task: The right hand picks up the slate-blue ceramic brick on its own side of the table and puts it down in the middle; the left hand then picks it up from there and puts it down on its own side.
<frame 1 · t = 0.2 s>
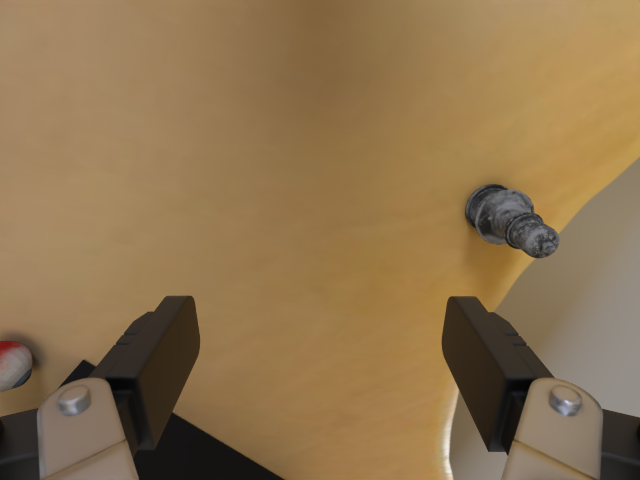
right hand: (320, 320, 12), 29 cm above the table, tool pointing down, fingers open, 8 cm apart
cardboard box: (162, 464, 56), on the table
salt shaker: (488, 207, 41), on the table
eyeball: (22, 349, 48), on the table
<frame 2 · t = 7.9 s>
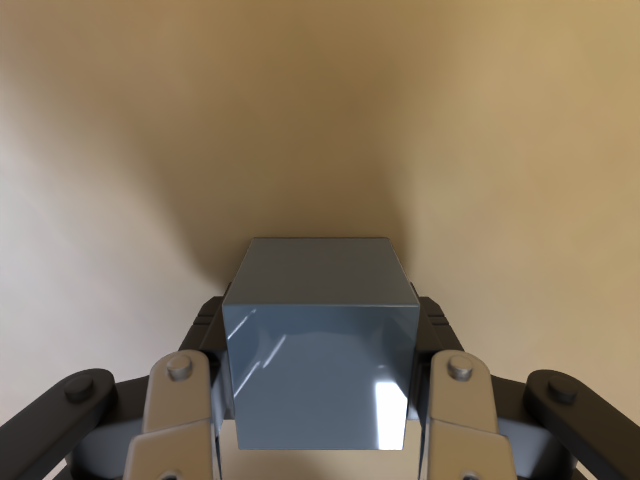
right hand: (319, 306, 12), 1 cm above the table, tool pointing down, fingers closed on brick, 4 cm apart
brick: (320, 298, 13), on the table, touching right hand
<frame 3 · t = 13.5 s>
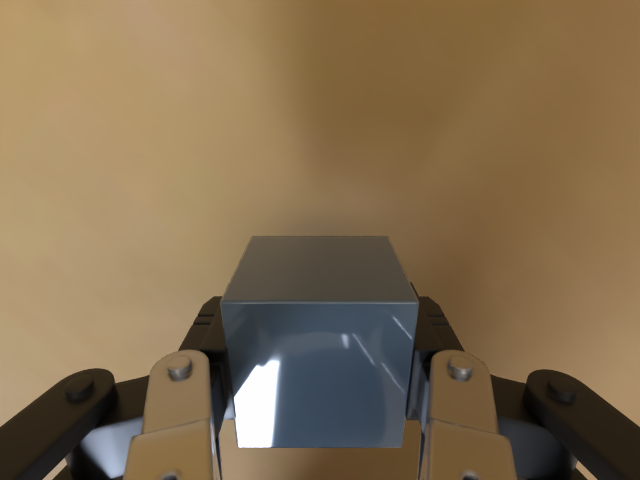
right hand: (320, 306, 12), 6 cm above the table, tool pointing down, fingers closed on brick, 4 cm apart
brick: (319, 296, 13), point 5 cm above the table, touching right hand
when the right hand's fingers open (1 cm above the table, at t = 19.5 s): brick stays where it is, on the table.
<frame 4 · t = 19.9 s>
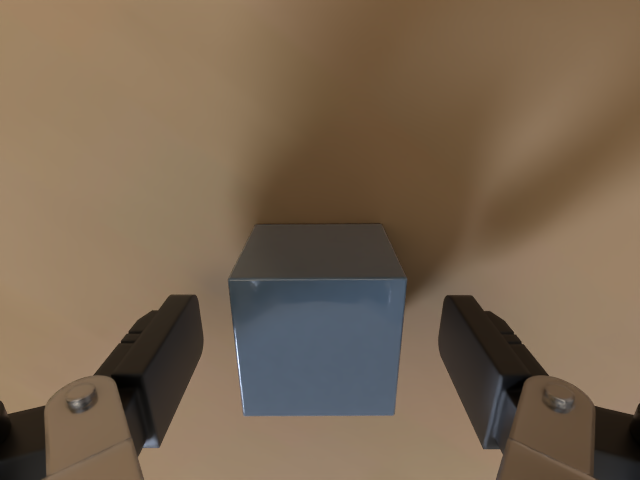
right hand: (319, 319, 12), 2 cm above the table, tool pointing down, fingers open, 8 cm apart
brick: (318, 281, 14), on the table
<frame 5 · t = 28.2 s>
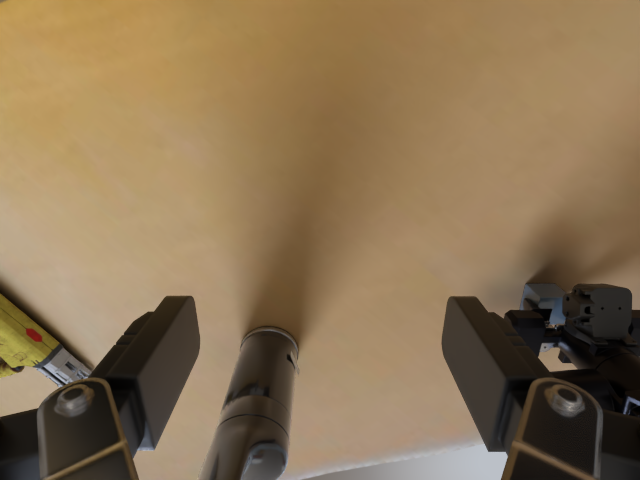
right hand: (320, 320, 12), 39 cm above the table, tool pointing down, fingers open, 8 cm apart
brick: (536, 296, 56), on the table, touching left hand
toy gun: (10, 340, 60), on the table
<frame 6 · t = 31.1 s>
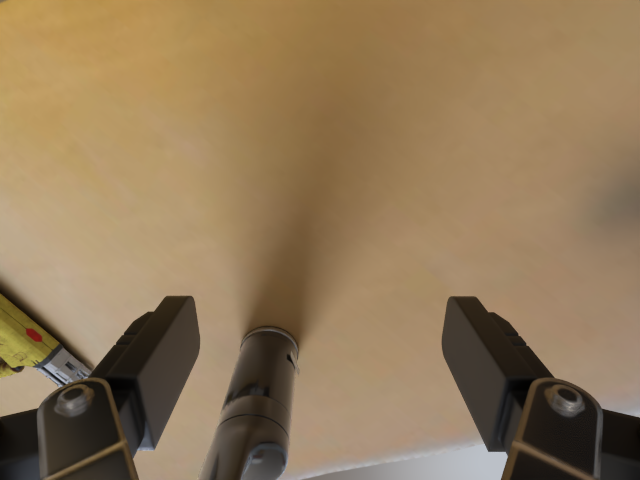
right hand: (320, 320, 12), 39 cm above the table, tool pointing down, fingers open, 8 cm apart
toy gun: (10, 340, 60), on the table
when the left hand's fingers open (2 cm above the table, at t = 34.0 s): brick stays where it is, on the table.
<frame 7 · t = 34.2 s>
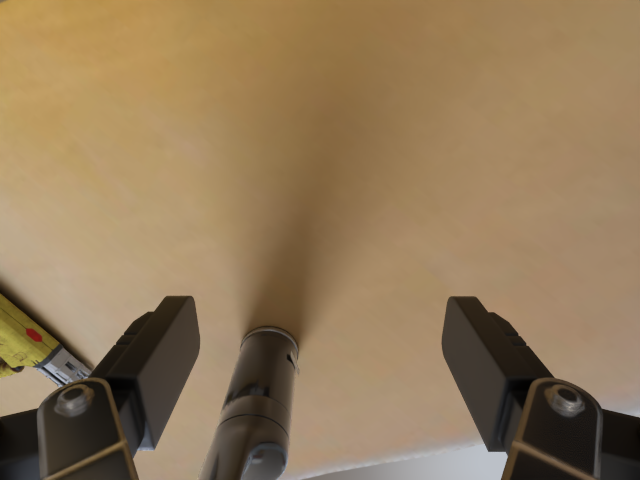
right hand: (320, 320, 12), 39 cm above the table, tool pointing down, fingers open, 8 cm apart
toy gun: (10, 340, 60), on the table
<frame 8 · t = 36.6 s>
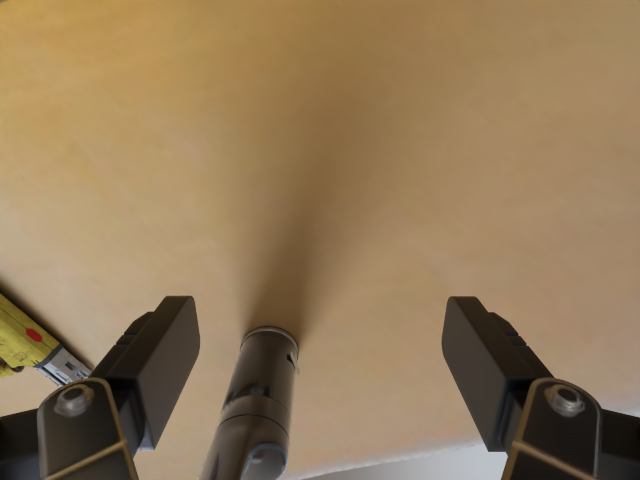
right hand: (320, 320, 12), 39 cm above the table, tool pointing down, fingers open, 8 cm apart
toy gun: (10, 340, 60), on the table
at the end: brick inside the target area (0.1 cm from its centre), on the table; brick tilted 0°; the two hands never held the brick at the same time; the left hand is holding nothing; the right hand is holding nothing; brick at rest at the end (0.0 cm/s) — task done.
